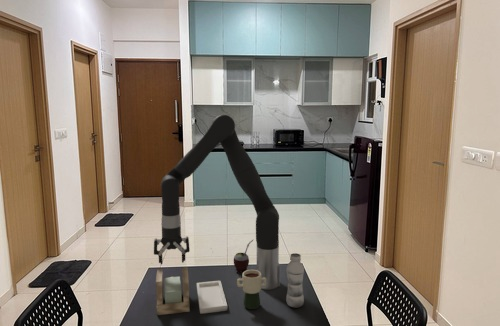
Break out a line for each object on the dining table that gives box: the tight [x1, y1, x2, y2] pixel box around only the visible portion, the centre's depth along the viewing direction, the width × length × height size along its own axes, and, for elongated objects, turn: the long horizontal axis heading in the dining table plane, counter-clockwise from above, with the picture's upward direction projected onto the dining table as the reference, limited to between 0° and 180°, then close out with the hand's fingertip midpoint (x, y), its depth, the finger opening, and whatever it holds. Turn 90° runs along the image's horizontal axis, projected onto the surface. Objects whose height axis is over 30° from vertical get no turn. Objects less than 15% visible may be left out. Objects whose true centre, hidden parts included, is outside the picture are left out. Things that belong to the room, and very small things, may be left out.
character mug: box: [236, 269, 266, 310], centre depth 134 cm, size 11×7×13 cm, turn 93°
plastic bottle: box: [285, 252, 305, 309], centre depth 134 cm, size 6×7×20 cm
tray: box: [196, 280, 228, 314], centre depth 141 cm, size 10×20×2 cm, turn 12°
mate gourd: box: [233, 239, 254, 274], centre depth 164 cm, size 8×8×15 cm
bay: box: [155, 266, 191, 316], centre depth 135 cm, size 12×12×12 cm
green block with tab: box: [164, 276, 183, 304], centre depth 141 cm, size 6×17×7 cm, turn 14°
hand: (172, 262), depth 147 cm, fingers open, 8 cm apart
